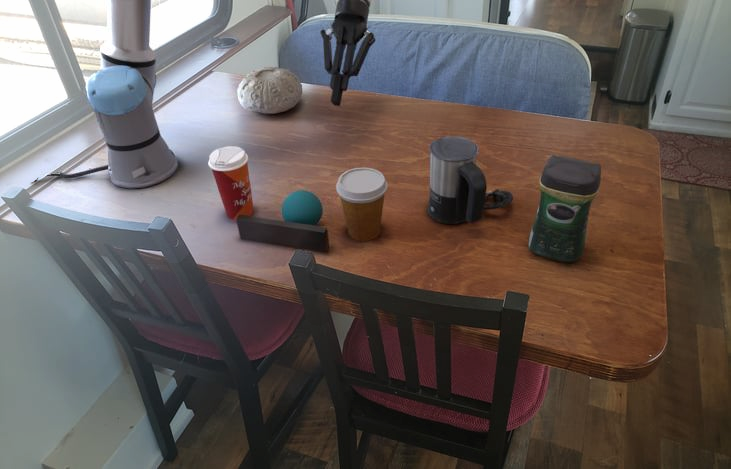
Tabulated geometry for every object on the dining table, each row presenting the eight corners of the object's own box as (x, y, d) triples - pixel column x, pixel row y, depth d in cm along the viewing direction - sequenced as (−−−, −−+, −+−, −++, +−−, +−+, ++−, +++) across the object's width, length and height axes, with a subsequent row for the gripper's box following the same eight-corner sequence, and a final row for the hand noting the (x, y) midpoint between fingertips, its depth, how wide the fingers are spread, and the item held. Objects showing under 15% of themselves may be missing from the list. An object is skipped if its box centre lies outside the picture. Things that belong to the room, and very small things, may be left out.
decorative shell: (276, 127, 143) (271, 91, 136) (226, 113, 150) (219, 79, 144) (316, 100, 154) (312, 66, 148) (268, 89, 162) (262, 56, 156)
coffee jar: (585, 243, 101) (609, 157, 90) (577, 269, 96) (601, 181, 84) (533, 230, 105) (550, 145, 93) (523, 254, 99) (539, 167, 88)
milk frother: (417, 211, 111) (419, 148, 102) (464, 180, 119) (470, 119, 110) (474, 241, 103) (481, 175, 94) (520, 205, 111) (531, 142, 102)
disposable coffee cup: (360, 211, 112) (358, 161, 105) (397, 227, 107) (397, 176, 100) (330, 234, 106) (324, 183, 99) (367, 253, 102) (364, 200, 94)
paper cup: (251, 225, 110) (238, 166, 101) (215, 222, 111) (200, 163, 102) (264, 203, 116) (253, 145, 107) (230, 200, 117) (216, 143, 108)
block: (240, 239, 106) (235, 219, 103) (244, 234, 108) (239, 214, 104) (326, 253, 102) (324, 232, 99) (329, 247, 103) (327, 227, 100)
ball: (284, 183, 108) (284, 220, 111) (278, 197, 101) (279, 236, 104) (324, 185, 108) (323, 222, 112) (321, 200, 101) (320, 238, 104)
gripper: (321, -6, 122) (302, 95, 120) (377, -3, 119) (359, 100, 117) (331, 11, 129) (313, 106, 127) (384, 14, 126) (366, 112, 124)
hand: (335, 103), depth 122 cm, fingers closed
